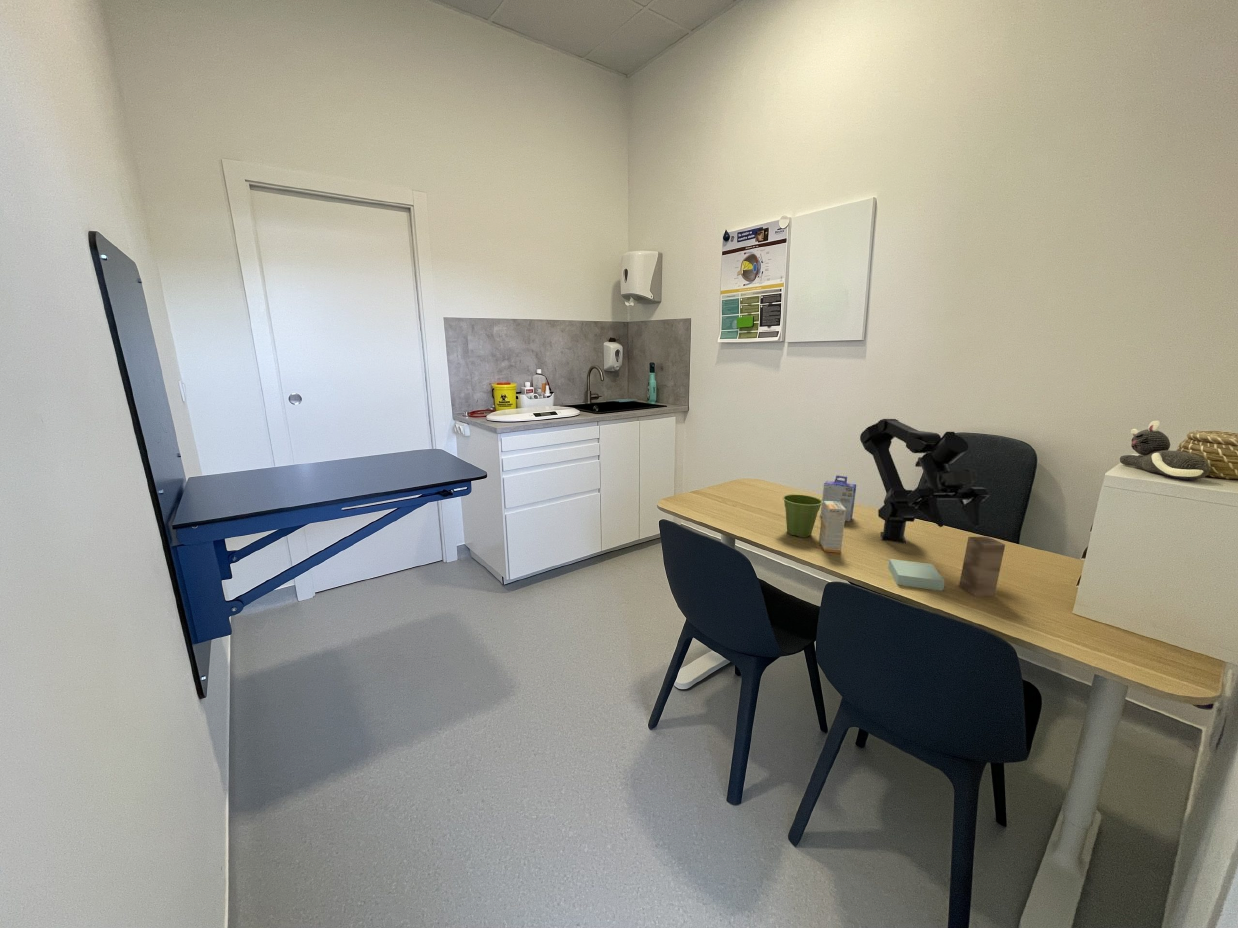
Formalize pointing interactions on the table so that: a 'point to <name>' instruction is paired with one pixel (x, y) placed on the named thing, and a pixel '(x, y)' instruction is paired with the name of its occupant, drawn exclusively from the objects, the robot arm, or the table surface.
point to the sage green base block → (916, 574)
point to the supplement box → (832, 526)
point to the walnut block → (981, 566)
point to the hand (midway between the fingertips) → (959, 526)
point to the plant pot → (801, 513)
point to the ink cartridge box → (840, 494)
